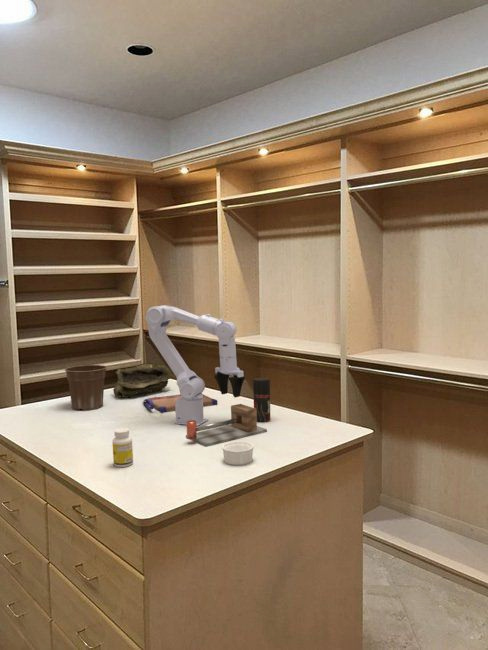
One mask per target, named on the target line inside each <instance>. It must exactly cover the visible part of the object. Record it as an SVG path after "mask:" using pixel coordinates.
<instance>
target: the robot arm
mask: <svg viewBox="0 0 488 650" xmlns="http://www.w3.org/2000/svg"><path fill="white" fill-rule="evenodd" d="M144 320H145V321H146V323H147V328H148V329H147V330H148V336H149V337H150V340H151V341H152V343H153V344H154V345H155V347H156V348H157V350H158V352H159V353H160V354H161V356H162V359H164V360H165V362H166V365H168V368H169V369H170V370H171V372H172V373H173V374H174V376H175V378H176V386H178V389H179V393H180V394H181V396H182V397H179V398H178V399H177V401H176V405H175V409H176V411H175V422H174V424H177V425H186V426H187V421H189V420H195V421H196V427H199V426H200V425H201V426H202V424H204V423H206V422H208V421H209V418H204V407H203V395H204V394H203V392H204V390H205V388H206V384H205V381H204V379H202V378H201V377H199V376H198V375H197V374H196V372H194V371H193V370H191V369H190V368H189V366H188V365H187V363H186V362H185V360H184V359H183V357H182V356H181V354H180V353H179V351H178V350H177V349H176V347H175V346H174V343H173V342H172V341H171V339H170V338H169V337H168V335H167V333H166V332H167V329H168V326H169V324H170V322H171V321H173V320H177V321H182V322H184V323H187V324H191V325H194V326H196V327H197V329H198V330H199V331H200V332H204V333H207V334H210V335H213V336H216V337H217V338H218V351H219V353H218V354H219V364H220V365H219V366H217V367H215V368H214V370H215V374H214V375H213V377H214V379H215V381H216V382H217V384H218V387H219V391H220V394H221V395H226V394H228V392H229V385H228V384H229V382H230V385H231V389H232V395H233V398H239V397H241V393H242V392H241V391H242V387H243V384H244V382H245V380H246V376H245V375H244V370H241V369H240V367H238V364H237V363H238V362H237V361H238V359H237V350H236V349H237V347H236V336H235V335H236V333H237V326H236V324H235V323H233V322H232V321H230V320H227V321H224V318H217V317H214V316H212V314H210V313H206V314H202V315H200V316H199V315H196V314H194V313H191V312H188V311H186V310H185V309H184V310H183V309H181V308H179V307H176V306H173V305H172V306H170V305H168V304H163V305H162V304H161V305H159V306H156V305H155V306H151V307H149V308H148V310H147V312H146V315H145V319H144ZM202 394H203V395H202Z"/></svg>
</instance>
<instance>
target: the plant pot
mask: <svg viewBox="0 0 488 650" xmlns="http://www.w3.org/2000/svg"><path fill="white" fill-rule="evenodd" d="M107 369H108V367H107V366H106V365H102V364H101V365H100V364H86V365H85V364H84V365H73V366H68V367H66V368H64V371H65V373H66V379H67V381H68V387H69V388H68V389H69V395H70V403H71V408H72V409H73V410H76V411H80V410H82V411H88V410H89V411H91V410H96V409H100V408H102V407H103V406H104V391H105V378H106V371H107Z"/></svg>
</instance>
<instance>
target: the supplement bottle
mask: <svg viewBox="0 0 488 650" xmlns="http://www.w3.org/2000/svg"><path fill="white" fill-rule="evenodd" d="M113 432H114V438H113V439H112V458H113V465H114V466H115V467H117V468H124V467H125V468H127V467H130V466H132V465H133V464H134V450H133V438H132V437H131V436H130V430H129V428H126V427H125V428H124V427H121V428H116V429H114V431H113Z"/></svg>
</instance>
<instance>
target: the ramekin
mask: <svg viewBox="0 0 488 650" xmlns="http://www.w3.org/2000/svg"><path fill="white" fill-rule="evenodd" d="M221 447H222V449H221V450H222V452H223V460H224V462H225V463H226V464H228V465H231V466H244V465H247V464H250V463H251V462H252V461H253V455H254V447H255V446H254V443H251V442H248V441H243V440H233V441H227V442H225V443H223V445H222V446H221Z"/></svg>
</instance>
